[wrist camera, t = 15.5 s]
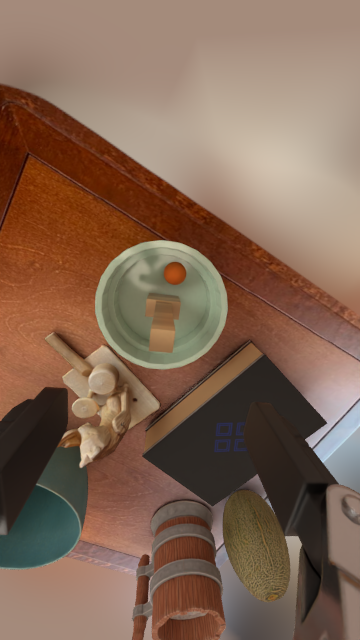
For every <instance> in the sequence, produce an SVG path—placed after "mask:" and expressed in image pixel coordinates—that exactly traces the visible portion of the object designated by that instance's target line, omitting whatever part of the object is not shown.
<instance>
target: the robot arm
mask: <svg viewBox="0 0 360 640" xmlns="http://www.w3.org/2000/svg"><path fill="white" fill-rule="evenodd" d="M67 424H68V392H67V389H66V388H54V387H45V388H44V389H43V390H42V391H41V392H40V393H39V394H38V395H37V396H36V398H35V399H34V400H33V399H27V400H26V401H24V402H22V403H21V404H19V405H17V406H16V407H14V408H13V409H12V410H11V411H10V412H9V413H8V414H7V415H6V416H5V417H4V418H3V419H2V421H0V535H8V533H9V532H10V530H11V528H12V526H13V525H14V523H15V521H16V519H17V517H18V516H19V514H20V512H21V510H22V509H23V507H24V505H25V503H26V501H27V500H28V498H29V496H30V494H31V493H32V491H33V489H34V487H35V485H36V484H37V482H38V480H39V478H40V477H41V475H42V473H43V471H44V469H45V468H46V466H47V464H48V462H49V461H50V459H51V457H52V455H53V453H54V452H55V450H56V448H57V446H58V445H59V443H60V441H61V439H62V437H63V436H64V433H65V431H66V428H67ZM243 436H244V442H245V445H246V448H247V450H248V452H249V455H250V457H251V459H252V462H253V464H254V466H255V468H256V471H257V473H258V475H259V478H260V480H261V482H262V485H263V487H264V489H265V492H266V494H267V496H268V499H269V501H270V503H271V506H272V508H273V510H274V512H275V515H276V517H277V519H278V522H279V524H280V526H281V529H282V531H283V533H284V536H298V537H299V539H300V541H301V543H302V547H301V549H300V557H299V573H298V588H297V602H296V617H295V628H294V635H293V640H360V494H359V493H357V492H356V491H354V490H352V489H350V488H348V487H345V486H343V485H339V484H338V482H337V481H336V480H335V478H334V477H333V476H332V475H331V474H330V472H329V471H328V469H327V468H326V467H325V465H324V464H323V463H322V461H321V460H320V459H319V458H318V456H317V455H316V454H315V452H314V451H313V450H312V448H311V447H309V445H308V443H307V442H306V441H305V439H304V438H302V435H301V434H300V433H299V432H298V430H297V429H296V428H295V426H294V425H293V424H292V423H290V422H289V421H288V420H287V419H286V418H284V417H283V416H280V415H279V414H278V413H277V411H276V410H275V408H274V407H273V406H272V405H271V404H270V403H262V402H252V403H251V405H250V408H249V412H248V415H247V419H246V423H245V427H244V432H243Z"/></svg>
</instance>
